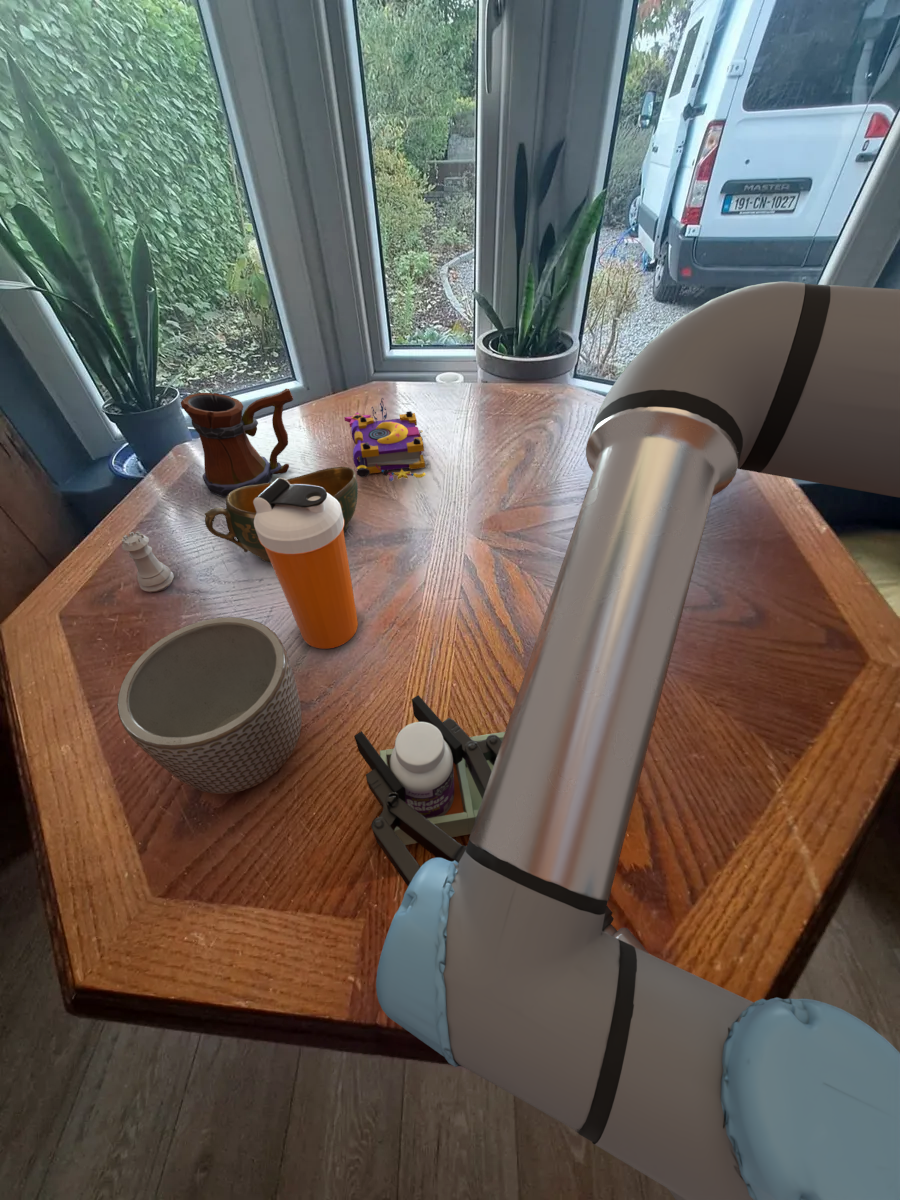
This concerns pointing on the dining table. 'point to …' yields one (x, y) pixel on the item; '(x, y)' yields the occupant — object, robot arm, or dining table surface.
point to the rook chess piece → (147, 563)
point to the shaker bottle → (309, 559)
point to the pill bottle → (424, 769)
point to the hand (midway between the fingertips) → (389, 723)
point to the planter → (214, 704)
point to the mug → (235, 439)
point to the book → (386, 444)
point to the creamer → (241, 499)
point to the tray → (464, 801)
